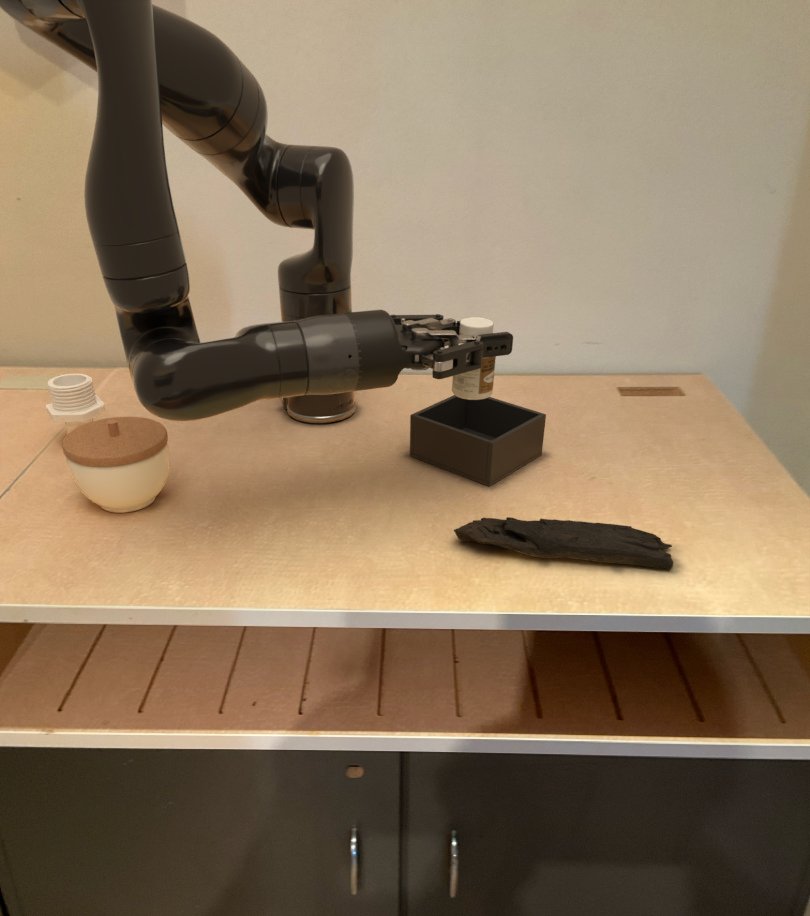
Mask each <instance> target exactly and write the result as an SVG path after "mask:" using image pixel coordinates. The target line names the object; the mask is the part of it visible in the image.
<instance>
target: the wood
mask: <svg viewBox="0 0 810 916" xmlns="http://www.w3.org/2000/svg"><path fill="white" fill-rule="evenodd" d="M453 532H454V533H455V535H456V538H457V539H458V540H459V541H462V542H463V543H464V542H476V543H478V544H480V545H493V546H497V547H500V548H504V549H507V550H509V551H514V552H516V553H517V552H518V553H519V554H522V555H526V556H529V557H535V558H540V559H541V558H542V559H549V558H550V559H559V558H564V559H575V560H582V561H588V562H596V563H608V564H622V565H630V566H631V565H632V566H641V567H642V566H643V567H650V568H655V569H664V570H665V569H667V570H668V569H672V568H673V567H674V563H675V562H674V560H673V558H672V554H671V553H670V552H666V550H669V549H670V548H672V547H673V545H672V544H669V543H665V542H663V541H662V539H661V537H659V536H657V535H656V534H654V533H652V532H647V531H644V530H642V529H638V528H634V527H632V525H623V524H615V523H605V522H589V521H582V520H580V521H579V520H578V521H577V520H569V519H568V520H561V519H555V518H554V519H549V518H548V519H547V518H543V517H542V518H539V520H522V519H518V518H515V517H512V516H510V517H509V516H507V517H506V519H503V518H502V519H501V518H494V517H481V518H480V519H477V520H475V519H474V520H472V521H470V522H468V523H466V524H464V525H461V526H459V527H458V528H455V529H453Z"/></svg>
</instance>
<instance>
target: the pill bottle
mask: <svg viewBox="0 0 810 916" xmlns="http://www.w3.org/2000/svg"><path fill="white" fill-rule="evenodd" d="M485 318H486V317H479V316H477V317H475V316H473V317H472V316H471V317H465V318H462V319H461V320H459V321H460V330H459V332H460V334H459V335H482V334H491V333H494V322H493V320H491V319H488V318H486V319H485ZM461 344H465V343H460V344H458V345H461ZM467 354H468V353H467ZM496 359H497V356H495V357H486V358H482V367H481V368H480V369H476V370H473V371H469V372H465V373H462V374H458V375H455V376H452V382H451V392H452V394H453V395H456V396H457V397H459V398H462V399H468V400H480V399H485V398H488V397H491V396H492V395H493V392H494V381H495V380H494V379H495V370H496V369H495V368H496Z"/></svg>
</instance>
